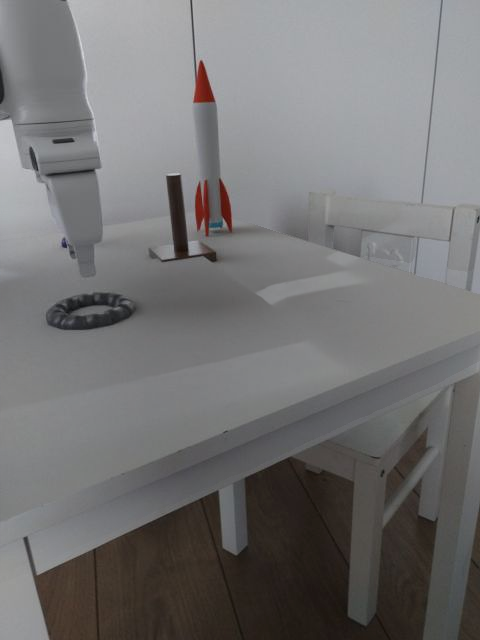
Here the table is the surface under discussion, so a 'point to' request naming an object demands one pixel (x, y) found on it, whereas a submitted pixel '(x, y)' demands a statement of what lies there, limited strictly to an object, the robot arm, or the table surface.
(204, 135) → the toy rocket
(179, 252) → the stand
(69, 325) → the ring
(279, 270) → the table surface
